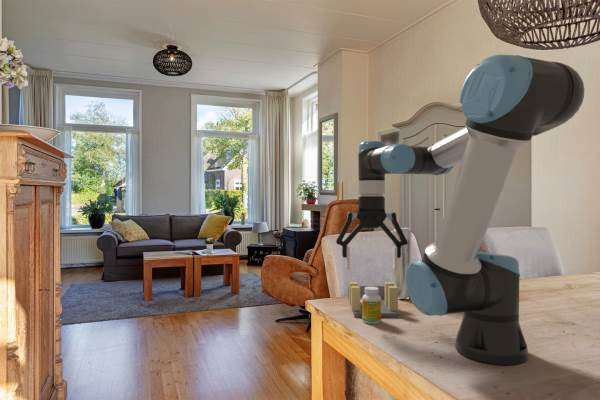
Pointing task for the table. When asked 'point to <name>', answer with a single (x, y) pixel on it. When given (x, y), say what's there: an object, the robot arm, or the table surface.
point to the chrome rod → (402, 264)
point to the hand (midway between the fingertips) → (371, 269)
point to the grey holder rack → (385, 292)
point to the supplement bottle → (371, 306)
